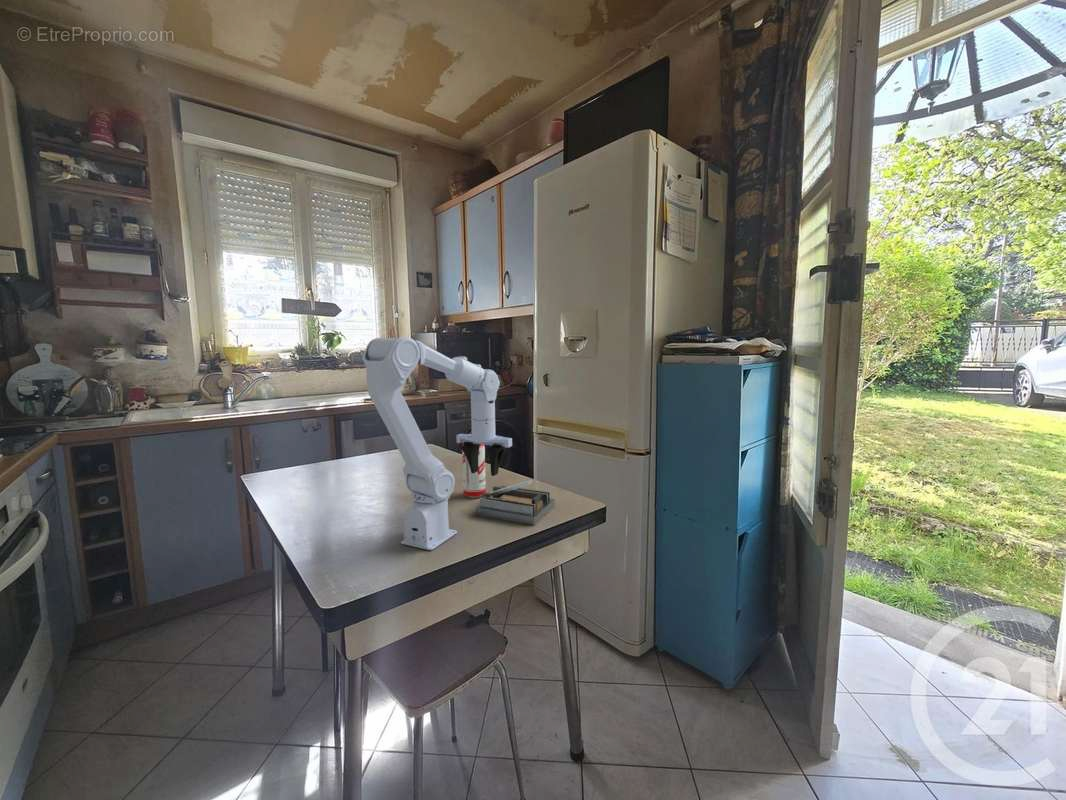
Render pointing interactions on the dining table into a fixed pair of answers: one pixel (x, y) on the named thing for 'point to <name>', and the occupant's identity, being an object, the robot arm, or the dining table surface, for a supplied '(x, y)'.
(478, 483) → the beer can
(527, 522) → the heatsink block
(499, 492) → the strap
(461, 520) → the dining table surface
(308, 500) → the dining table surface
